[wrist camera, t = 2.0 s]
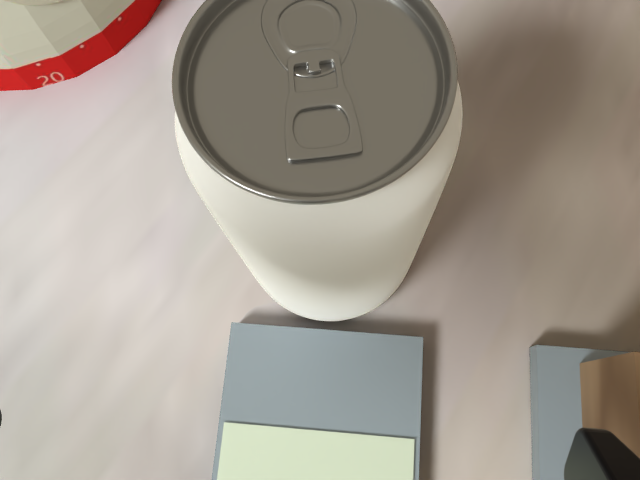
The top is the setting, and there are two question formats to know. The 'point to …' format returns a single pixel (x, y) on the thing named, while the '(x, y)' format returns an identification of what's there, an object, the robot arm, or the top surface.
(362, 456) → the plate
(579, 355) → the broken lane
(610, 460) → the robot arm
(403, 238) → the can
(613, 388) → the walnut cube
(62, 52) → the kitchen timer
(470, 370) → the top surface
